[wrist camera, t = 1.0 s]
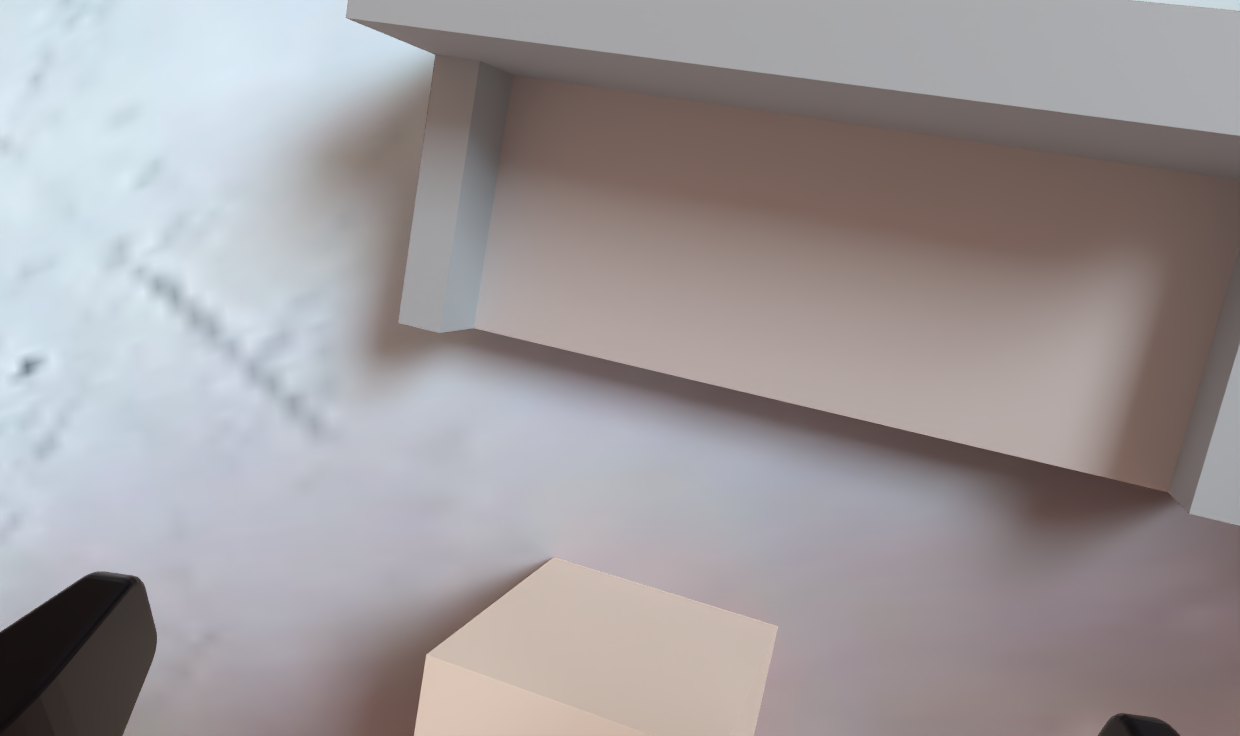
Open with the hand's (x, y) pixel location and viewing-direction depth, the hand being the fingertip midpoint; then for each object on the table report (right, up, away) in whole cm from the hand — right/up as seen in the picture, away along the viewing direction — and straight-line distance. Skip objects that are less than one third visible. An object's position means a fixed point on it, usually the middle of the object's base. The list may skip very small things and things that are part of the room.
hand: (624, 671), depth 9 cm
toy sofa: (+4, +6, +11) cm, 13 cm away
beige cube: (+1, -5, +13) cm, 14 cm away
